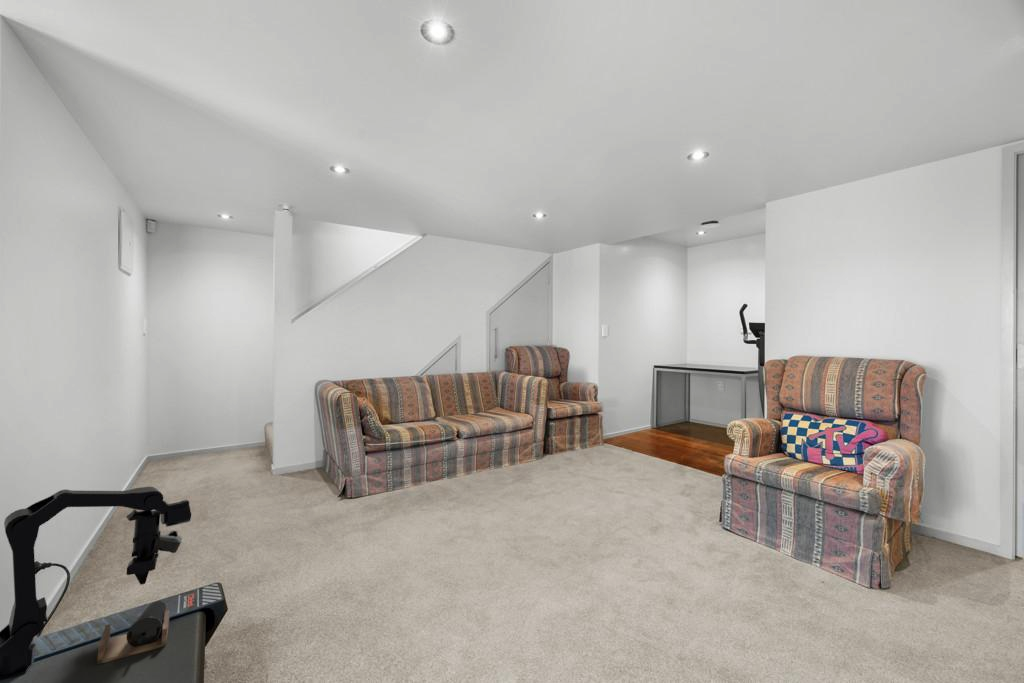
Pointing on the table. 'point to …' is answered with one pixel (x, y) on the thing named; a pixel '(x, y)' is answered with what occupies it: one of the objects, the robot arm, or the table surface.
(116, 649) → the cup rest
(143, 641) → the drinking cup
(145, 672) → the table surface
